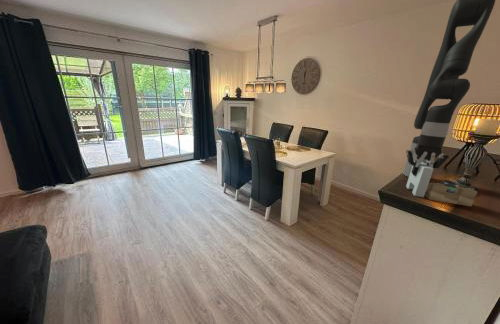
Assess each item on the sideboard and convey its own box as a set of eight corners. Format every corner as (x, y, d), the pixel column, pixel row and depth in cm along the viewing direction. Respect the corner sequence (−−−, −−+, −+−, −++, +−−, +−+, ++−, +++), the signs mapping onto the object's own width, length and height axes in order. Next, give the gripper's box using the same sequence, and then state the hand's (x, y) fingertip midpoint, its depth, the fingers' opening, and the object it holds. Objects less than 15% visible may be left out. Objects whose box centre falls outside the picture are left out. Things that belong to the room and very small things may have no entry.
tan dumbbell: (425, 195, 82) (430, 182, 80) (466, 202, 78) (472, 188, 76) (428, 199, 79) (433, 185, 77) (471, 206, 75) (477, 191, 73)
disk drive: (443, 184, 97) (431, 189, 90) (445, 179, 96) (433, 184, 89) (473, 193, 89) (464, 200, 81) (476, 187, 88) (466, 193, 80)
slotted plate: (405, 186, 90) (414, 160, 86) (414, 187, 89) (422, 161, 85) (414, 195, 81) (424, 167, 77) (423, 197, 80) (433, 168, 76)
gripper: (450, 135, 79) (435, 176, 84) (408, 131, 83) (396, 170, 88) (462, 137, 72) (445, 182, 77) (415, 133, 76) (402, 176, 82)
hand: (419, 175), depth 83 cm, fingers closed on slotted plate, 3 cm apart
